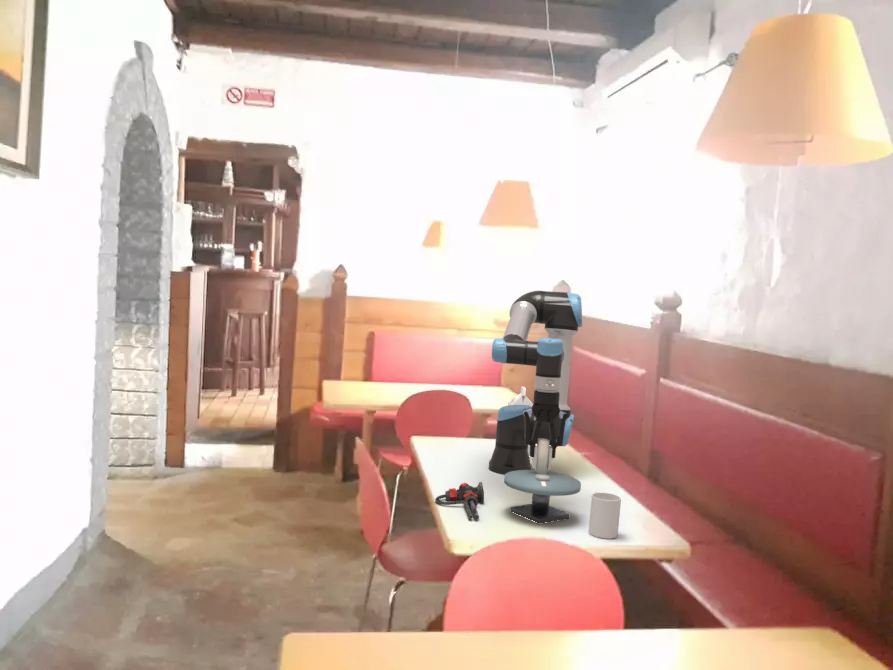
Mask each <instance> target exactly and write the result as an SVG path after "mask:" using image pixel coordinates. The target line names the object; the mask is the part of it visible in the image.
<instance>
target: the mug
mask: <svg viewBox="0 0 893 670" xmlns="http://www.w3.org/2000/svg"><path fill="white" fill-rule="evenodd" d="M621 502H622V497H621V496H619V495H617V494H614V493H609V492H600V491H595V492H594V493H592V494H591V500H590V509H589V510H590V512H589V521H588V533H589V534H590V535H591V536H593V537H596V538H600V539H608V540H609V539H610V540H611V539H617V538H618V535H619V526H620V516H621V504H622V503H621Z"/></svg>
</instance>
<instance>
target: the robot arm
mask: <svg viewBox="0 0 893 670" xmlns="http://www.w3.org/2000/svg"><path fill="white" fill-rule="evenodd" d="M582 308H583V307H582V297H581V296H580V295H579V294H578V293H572V292H567V291H566V292H563V291H562V292H561V291H549V290H547V291H546V290H534V291H533V290H532V291H529V292H527V293H524V294H523V295H521V296H519V297H518V298H517V299H516V300H515V301H514V302H513V303H512V305H511V306H510V309H509V319H508V324H507V325H506V327H505V331H504V334H503V336H502V337H501V338H497V337H496V338H494V339H493V342H492V348H491V359H492V361H493V362H496V363H501V364H510V365H522V366H530V367H535V378H534V389H535V390H534V391H533V400H532V401H533V402H532V403H533V406H532V408H531V406H529V405H509V406H508V405H504V406H501V407H500V408H499V409H498V412H497V418H496V430H495V431H496V432H495V433H496V434H495V446H494V449H493V451H492V454H491V458H490V459H489V461H488V470H490V471H491V472H493V473H494V472H495V473H497V474H502V475H505V474H506V473H508V472H511V471H517V470H535V469H536V464H537V450H538V447H537V440H538V439H548V440H550V443H549V455H548V467H547V471H551V470H552V459H555V457H556V449H557V447H558V448H559V447H566V446H567V445H568V444H569V441H570V437H571V433H572V428H573V423H574V420H575V419H574V418H575V415H574V414H573V413H571V407H570V406H569V405H568V394H569V393H568V392H569V382H570V372H571V371H570V370H571V359H572V351H573V350H572V347H573V338H574V336H575V335H576V334H577V333H578V331H579V328H582V327H583V309H582ZM533 324H541V325H544V331H546V333H547V337H542V338H539V339H538V340H537V341H531V340H528V337H529V334H530V331H531V327H532V325H533ZM528 445H530V457H529V454H528ZM530 458H532V463H531V459H530Z"/></svg>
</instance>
